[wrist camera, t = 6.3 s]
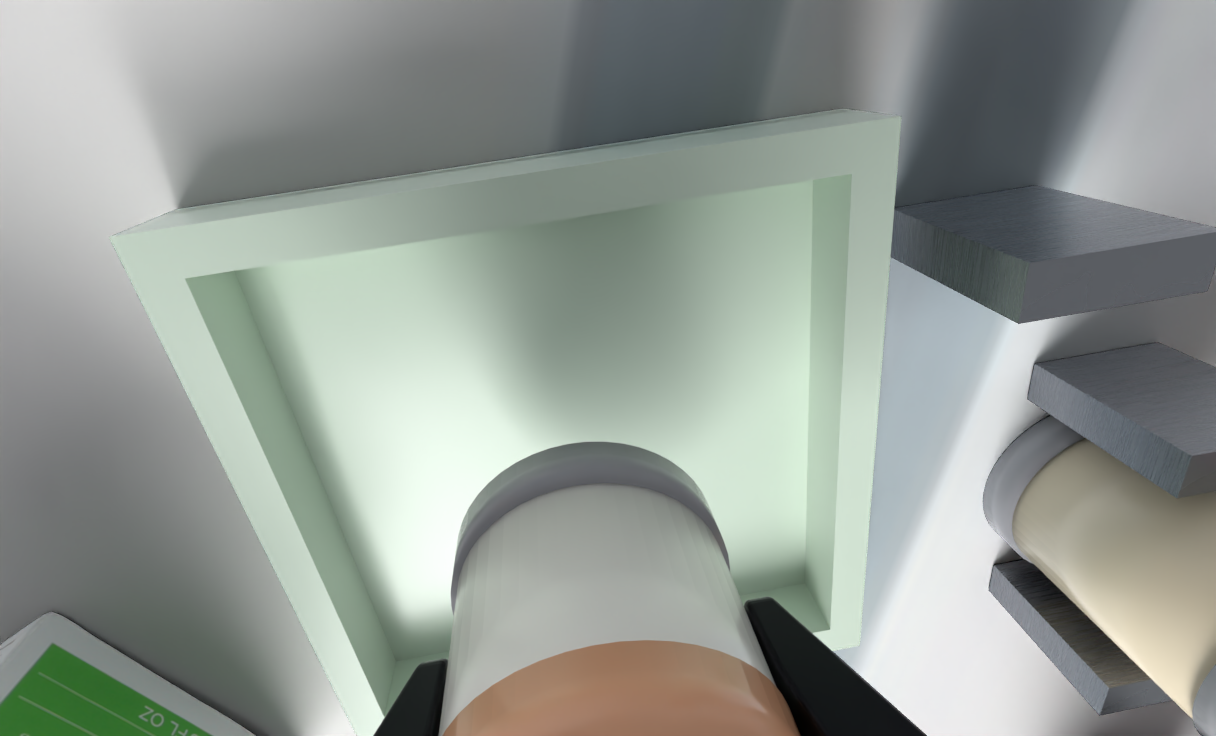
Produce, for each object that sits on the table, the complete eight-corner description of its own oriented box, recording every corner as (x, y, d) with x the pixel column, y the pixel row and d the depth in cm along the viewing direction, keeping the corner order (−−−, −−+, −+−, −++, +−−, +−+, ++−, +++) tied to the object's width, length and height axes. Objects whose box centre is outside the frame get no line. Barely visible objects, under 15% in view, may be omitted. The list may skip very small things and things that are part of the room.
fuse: (1122, 527, 18) (1437, 770, 12) (971, 555, 18) (1212, 819, 12) (1166, 389, 16) (1574, 596, 10) (996, 420, 16) (1305, 651, 10)
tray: (824, 585, 18) (859, 645, 16) (378, 671, 17) (360, 744, 15) (843, 108, 12) (901, 115, 10) (176, 209, 11) (108, 237, 10)
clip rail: (1090, 570, 19) (1223, 689, 15) (859, 615, 18) (940, 748, 15) (1335, -254, 10) (1759, -420, 7) (921, -202, 10) (1142, -349, 6)
